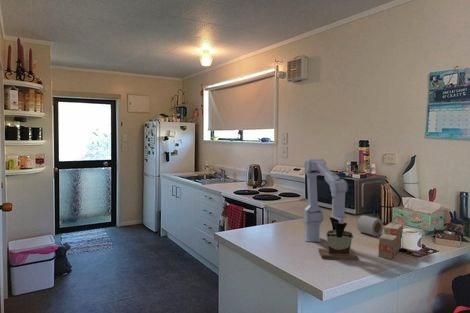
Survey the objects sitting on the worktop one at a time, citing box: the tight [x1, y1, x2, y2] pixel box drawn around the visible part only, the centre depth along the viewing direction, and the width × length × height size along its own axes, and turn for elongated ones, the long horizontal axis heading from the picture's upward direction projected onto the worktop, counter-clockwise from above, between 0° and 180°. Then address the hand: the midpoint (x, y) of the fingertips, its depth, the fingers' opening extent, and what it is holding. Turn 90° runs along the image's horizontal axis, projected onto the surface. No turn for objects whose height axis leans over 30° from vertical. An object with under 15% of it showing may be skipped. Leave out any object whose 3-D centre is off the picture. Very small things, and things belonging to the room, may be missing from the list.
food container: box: [325, 229, 354, 255], centre depth 158 cm, size 12×6×10 cm, turn 86°
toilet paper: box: [356, 215, 384, 237], centre depth 194 cm, size 10×10×10 cm
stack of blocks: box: [378, 222, 404, 260], centre depth 164 cm, size 21×6×12 cm, turn 143°
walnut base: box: [317, 247, 359, 261], centre depth 158 cm, size 10×16×2 cm, turn 86°
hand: (337, 234), depth 158 cm, fingers open, 7 cm apart
